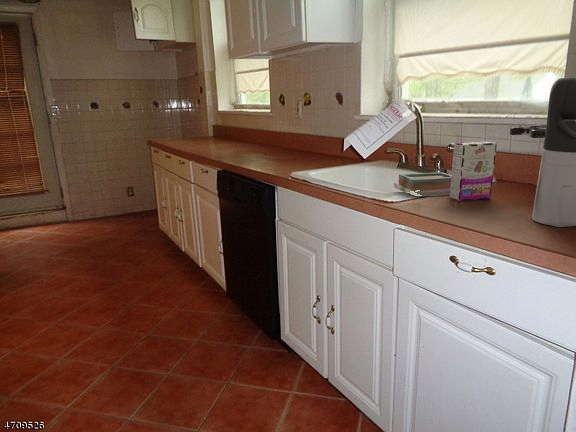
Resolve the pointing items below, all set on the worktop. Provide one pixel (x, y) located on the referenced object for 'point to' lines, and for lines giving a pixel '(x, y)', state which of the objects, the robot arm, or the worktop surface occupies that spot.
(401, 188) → the foundation
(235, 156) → the worktop surface
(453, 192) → the candy bar box
